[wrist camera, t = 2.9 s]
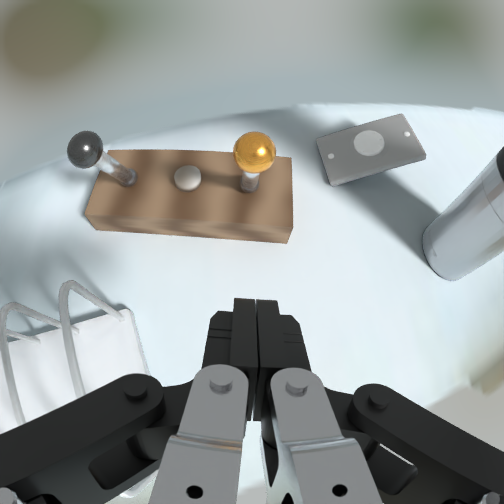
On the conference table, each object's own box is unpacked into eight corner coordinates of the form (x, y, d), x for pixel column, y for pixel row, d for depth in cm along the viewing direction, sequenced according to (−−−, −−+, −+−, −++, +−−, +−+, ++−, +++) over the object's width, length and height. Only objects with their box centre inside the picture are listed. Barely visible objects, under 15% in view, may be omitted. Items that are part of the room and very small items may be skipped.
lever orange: (264, 173, 34) (279, 127, 20) (262, 200, 34) (277, 169, 21) (236, 170, 34) (234, 123, 20) (233, 198, 34) (230, 165, 20)
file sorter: (133, 311, 32) (70, 254, 18) (183, 461, 25) (146, 518, 11) (-18, 353, 27) (-99, 324, 13) (13, 476, 20) (-66, 492, 6)
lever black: (145, 166, 34) (97, 124, 20) (142, 193, 34) (89, 162, 20) (121, 166, 34) (64, 127, 20) (118, 192, 34) (57, 164, 20)
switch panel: (286, 174, 41) (292, 149, 36) (286, 243, 36) (295, 221, 32) (117, 166, 40) (107, 141, 35) (96, 230, 35) (80, 208, 31)
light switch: (313, 134, 42) (402, 108, 37) (322, 157, 47) (403, 133, 42) (328, 179, 39) (427, 150, 34) (336, 200, 44) (425, 174, 39)
